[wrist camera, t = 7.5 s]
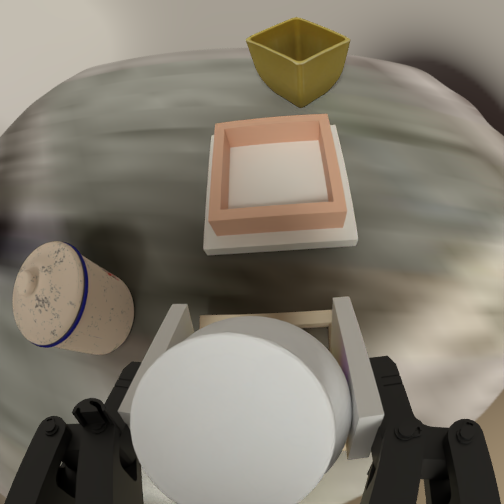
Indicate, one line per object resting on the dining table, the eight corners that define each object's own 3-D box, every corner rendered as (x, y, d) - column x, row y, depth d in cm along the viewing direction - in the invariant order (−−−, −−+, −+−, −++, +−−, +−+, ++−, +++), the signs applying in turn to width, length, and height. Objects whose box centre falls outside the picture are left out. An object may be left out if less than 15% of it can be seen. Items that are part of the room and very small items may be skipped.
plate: (207, 255, 30) (193, 236, 26) (214, 143, 35) (204, 117, 31) (355, 245, 28) (364, 224, 24) (334, 133, 33) (336, 105, 29)
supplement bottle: (347, 393, 17) (440, 429, 5) (266, 463, 16) (222, 586, 4) (273, 318, 19) (238, 230, 7) (195, 387, 18) (56, 398, 6)
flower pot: (348, 94, 36) (352, 38, 27) (302, 124, 34) (299, 63, 26) (300, 67, 39) (296, 16, 31) (254, 93, 38) (243, 39, 29)
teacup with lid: (136, 265, 31) (67, 213, 20) (141, 354, 27) (59, 338, 16) (53, 283, 32) (-17, 246, 21) (53, 359, 28) (-27, 342, 17)
